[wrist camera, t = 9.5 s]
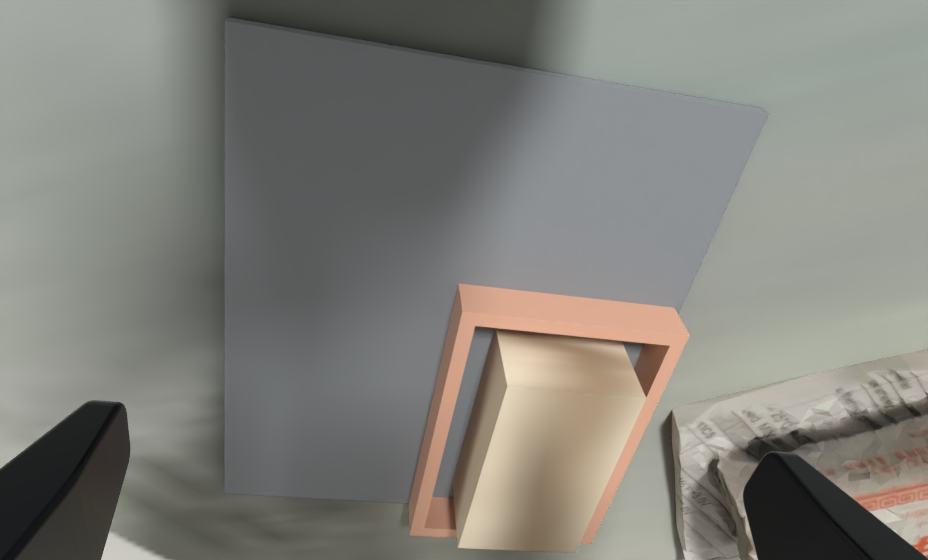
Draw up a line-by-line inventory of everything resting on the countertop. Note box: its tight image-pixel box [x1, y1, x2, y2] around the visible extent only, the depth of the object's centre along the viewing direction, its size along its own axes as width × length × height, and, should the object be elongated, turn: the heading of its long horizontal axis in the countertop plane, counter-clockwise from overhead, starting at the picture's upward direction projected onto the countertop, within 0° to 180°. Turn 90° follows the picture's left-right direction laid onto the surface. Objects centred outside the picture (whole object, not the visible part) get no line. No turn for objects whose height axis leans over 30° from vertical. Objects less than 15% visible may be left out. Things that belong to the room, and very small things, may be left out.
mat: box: [224, 17, 769, 504], centre depth 23 cm, size 18×15×1 cm
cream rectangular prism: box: [452, 328, 646, 553], centre depth 24 cm, size 4×8×3 cm, turn 169°
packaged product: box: [672, 349, 928, 560], centre depth 27 cm, size 18×5×10 cm
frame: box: [409, 284, 690, 544], centre depth 25 cm, size 11×8×2 cm
